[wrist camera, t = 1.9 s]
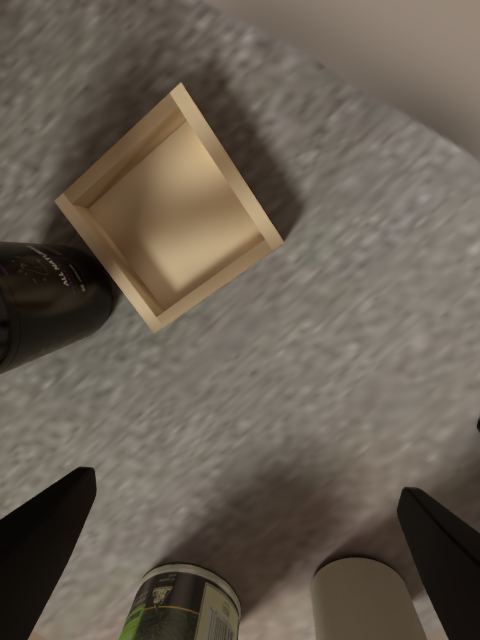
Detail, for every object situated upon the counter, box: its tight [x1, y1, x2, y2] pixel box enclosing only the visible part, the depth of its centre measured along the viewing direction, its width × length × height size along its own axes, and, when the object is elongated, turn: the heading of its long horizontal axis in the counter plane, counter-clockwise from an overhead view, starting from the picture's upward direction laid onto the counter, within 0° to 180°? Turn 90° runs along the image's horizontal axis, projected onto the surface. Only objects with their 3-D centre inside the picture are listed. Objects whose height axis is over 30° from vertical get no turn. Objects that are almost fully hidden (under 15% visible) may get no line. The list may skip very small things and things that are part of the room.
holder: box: [54, 83, 284, 334], centre depth 18 cm, size 10×10×2 cm
